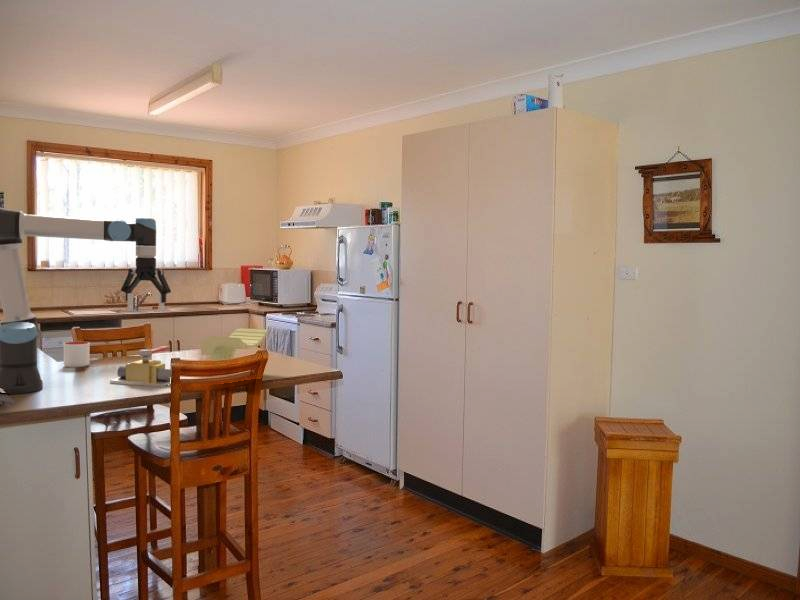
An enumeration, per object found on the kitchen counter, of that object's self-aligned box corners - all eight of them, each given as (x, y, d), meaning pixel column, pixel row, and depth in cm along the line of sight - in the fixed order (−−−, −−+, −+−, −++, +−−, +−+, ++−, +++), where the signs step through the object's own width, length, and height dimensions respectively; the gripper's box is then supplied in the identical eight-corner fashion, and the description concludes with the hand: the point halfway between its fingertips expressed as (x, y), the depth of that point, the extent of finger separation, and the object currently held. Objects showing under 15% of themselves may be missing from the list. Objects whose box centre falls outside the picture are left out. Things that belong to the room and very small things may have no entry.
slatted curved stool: (232, 367, 279) (233, 327, 278) (266, 369, 276) (267, 329, 275) (200, 380, 249) (201, 335, 248) (238, 382, 247) (239, 337, 246)
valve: (179, 381, 246) (180, 354, 245) (163, 387, 234) (163, 359, 233) (129, 377, 250) (129, 351, 249) (109, 383, 238) (110, 356, 237)
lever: (147, 356, 239) (147, 351, 238) (137, 355, 239) (137, 350, 239) (171, 349, 255) (171, 345, 255) (162, 349, 256) (162, 345, 256)
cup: (82, 368, 266) (82, 345, 265) (58, 367, 266) (58, 344, 265) (94, 364, 276) (94, 341, 275) (71, 363, 276) (71, 341, 275)
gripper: (179, 258, 251) (179, 310, 252) (123, 256, 255) (123, 308, 257) (169, 257, 244) (169, 312, 245) (111, 256, 248) (111, 309, 249)
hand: (145, 310), depth 251 cm, fingers open, 13 cm apart
